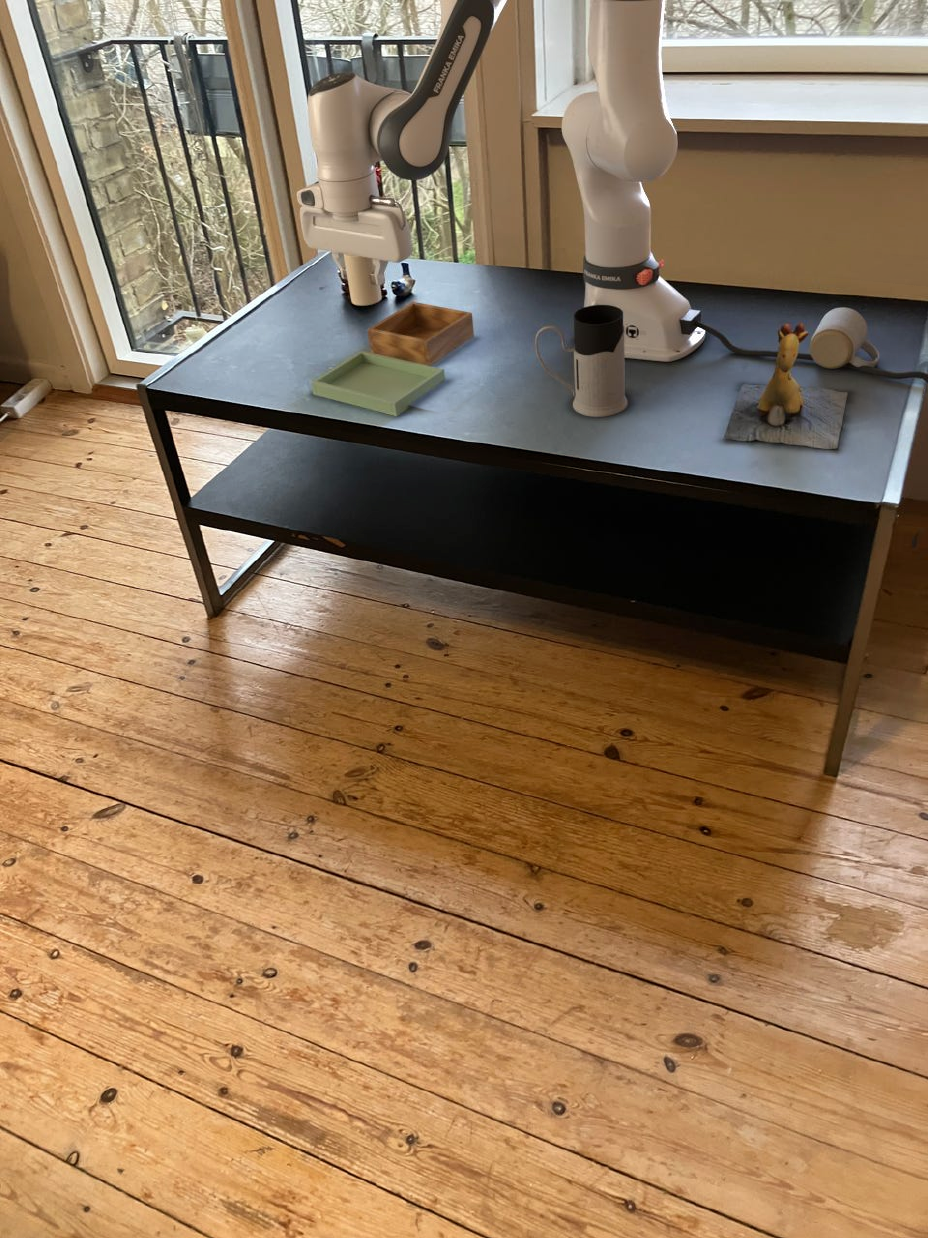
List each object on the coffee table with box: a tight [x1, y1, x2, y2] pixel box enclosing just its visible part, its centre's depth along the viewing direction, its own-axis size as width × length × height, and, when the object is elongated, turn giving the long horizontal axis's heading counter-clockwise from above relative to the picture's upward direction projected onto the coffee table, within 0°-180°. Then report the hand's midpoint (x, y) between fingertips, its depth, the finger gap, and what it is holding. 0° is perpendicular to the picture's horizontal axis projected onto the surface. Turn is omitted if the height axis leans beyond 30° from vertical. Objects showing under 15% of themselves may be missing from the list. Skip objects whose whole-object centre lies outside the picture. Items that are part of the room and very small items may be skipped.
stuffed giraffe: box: [723, 322, 848, 450], centre depth 154 cm, size 16×18×16 cm
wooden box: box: [366, 301, 475, 367], centre depth 190 cm, size 14×14×5 cm
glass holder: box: [534, 305, 628, 418], centre depth 163 cm, size 9×14×15 cm, turn 89°
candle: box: [343, 253, 383, 307], centre depth 168 cm, size 5×5×8 cm
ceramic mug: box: [809, 307, 881, 370], centre depth 168 cm, size 11×8×8 cm
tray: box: [310, 350, 446, 417], centre depth 179 cm, size 19×14×2 cm
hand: (363, 280), depth 169 cm, fingers closed on candle, 5 cm apart
